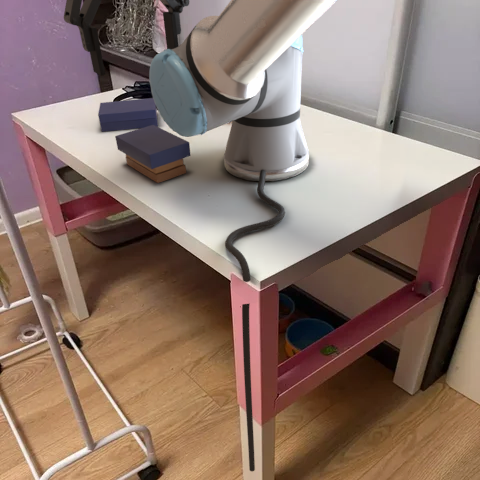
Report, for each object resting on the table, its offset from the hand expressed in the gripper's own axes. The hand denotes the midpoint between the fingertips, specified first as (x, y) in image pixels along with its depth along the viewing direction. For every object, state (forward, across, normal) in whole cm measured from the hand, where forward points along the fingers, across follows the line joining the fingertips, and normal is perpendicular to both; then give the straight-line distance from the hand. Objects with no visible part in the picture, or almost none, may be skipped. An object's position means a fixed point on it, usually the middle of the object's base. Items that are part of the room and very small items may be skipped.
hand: (138, 65), depth 83 cm
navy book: (+14, 0, +2) cm, 14 cm away
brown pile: (+17, 0, +2) cm, 17 cm away
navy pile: (+17, -7, -24) cm, 30 cm away
